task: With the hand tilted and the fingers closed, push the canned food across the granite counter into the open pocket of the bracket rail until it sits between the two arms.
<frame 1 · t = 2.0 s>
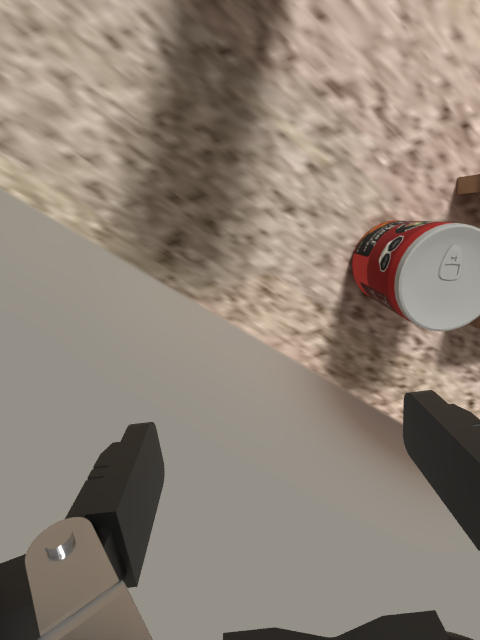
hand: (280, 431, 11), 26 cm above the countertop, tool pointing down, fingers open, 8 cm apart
canned food: (385, 260, 36), on the countertop
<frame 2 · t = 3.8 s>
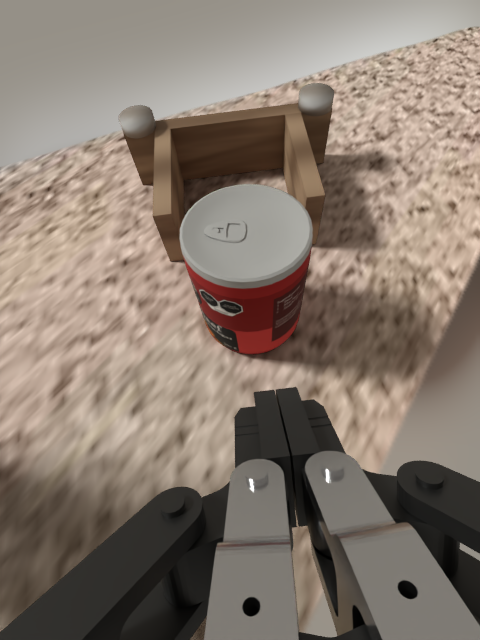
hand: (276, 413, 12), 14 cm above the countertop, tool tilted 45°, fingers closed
canned food: (251, 317, 31), on the countertop
bracket: (237, 207, 36), on the countertop
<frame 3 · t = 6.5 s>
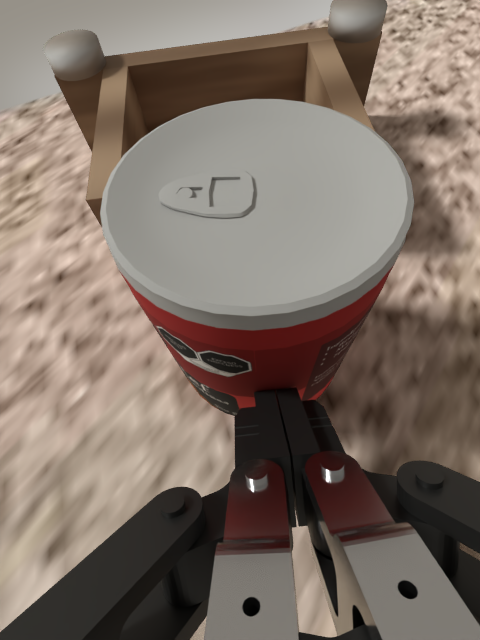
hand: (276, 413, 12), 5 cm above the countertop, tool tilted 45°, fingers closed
canned food: (259, 352, 19), on the countertop, touching gripper
bracket: (233, 190, 24), on the countertop
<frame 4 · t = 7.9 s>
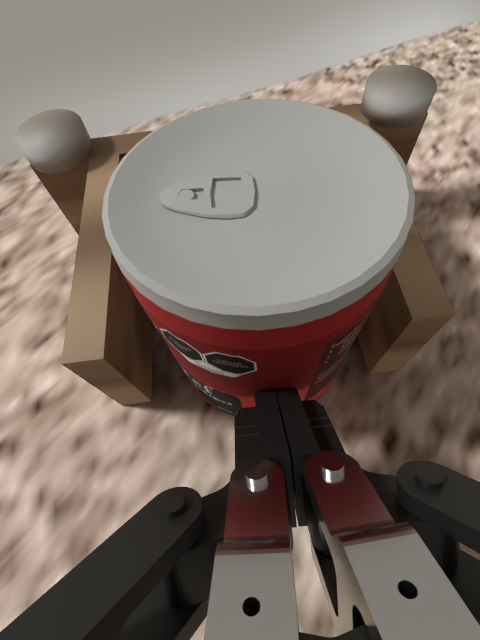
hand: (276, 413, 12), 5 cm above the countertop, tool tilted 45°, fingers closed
canned food: (260, 352, 19), on the countertop, touching gripper
bracket: (246, 288, 20), on the countertop
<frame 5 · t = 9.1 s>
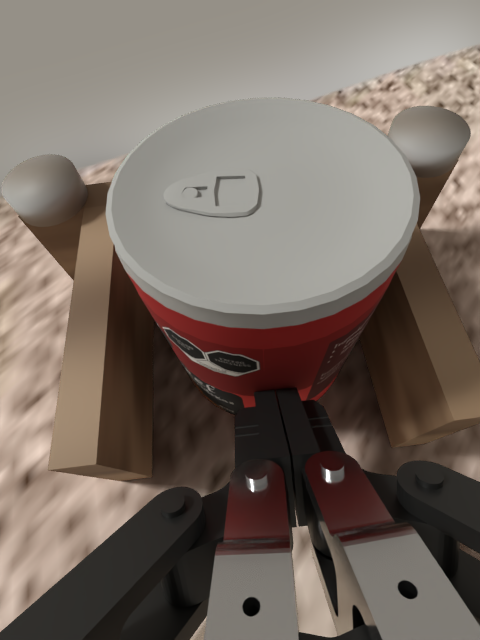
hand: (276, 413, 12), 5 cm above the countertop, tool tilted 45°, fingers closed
canned food: (262, 351, 19), on the countertop, touching gripper
bracket: (254, 342, 19), on the countertop
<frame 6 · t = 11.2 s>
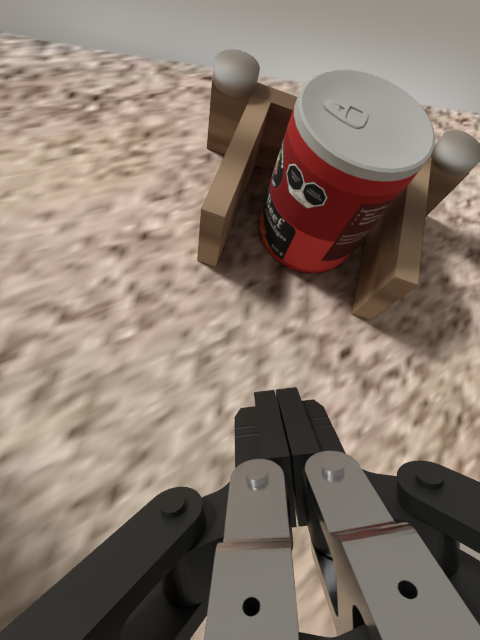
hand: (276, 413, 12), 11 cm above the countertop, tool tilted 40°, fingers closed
canned food: (302, 236, 29), on the countertop
bracket: (301, 229, 29), on the countertop
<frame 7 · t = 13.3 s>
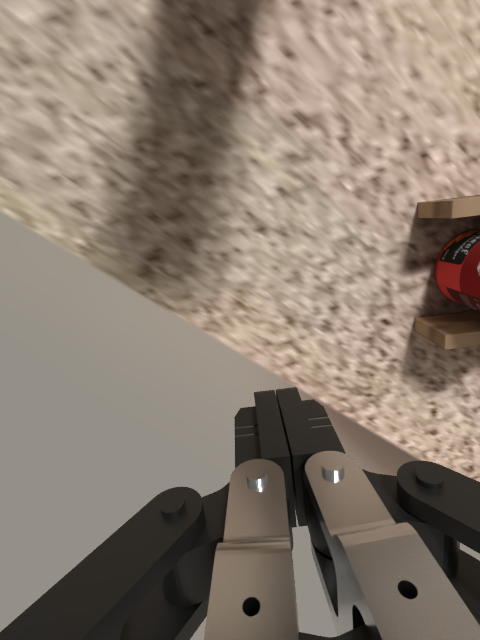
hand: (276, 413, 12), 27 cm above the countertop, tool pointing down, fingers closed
canned food: (465, 266, 39), on the countertop
bracket: (471, 263, 38), on the countertop
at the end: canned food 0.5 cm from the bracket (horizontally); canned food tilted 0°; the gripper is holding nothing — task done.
